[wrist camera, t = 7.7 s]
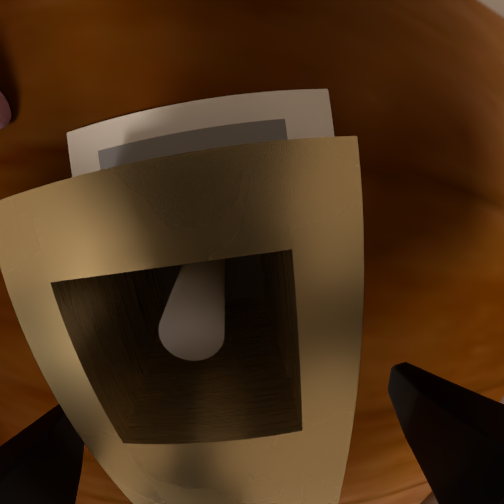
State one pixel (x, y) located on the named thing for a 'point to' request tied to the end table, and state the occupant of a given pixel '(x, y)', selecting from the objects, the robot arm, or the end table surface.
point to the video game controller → (4, 111)
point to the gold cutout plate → (236, 317)
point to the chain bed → (204, 116)
